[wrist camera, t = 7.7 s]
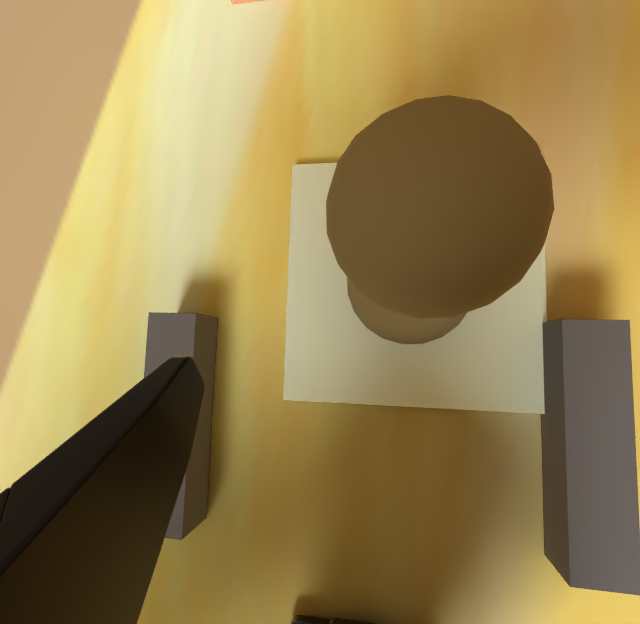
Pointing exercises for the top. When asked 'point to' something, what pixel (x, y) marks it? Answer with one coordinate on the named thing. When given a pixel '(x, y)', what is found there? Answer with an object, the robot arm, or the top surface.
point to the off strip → (242, 1)
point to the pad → (394, 358)
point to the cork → (436, 215)
